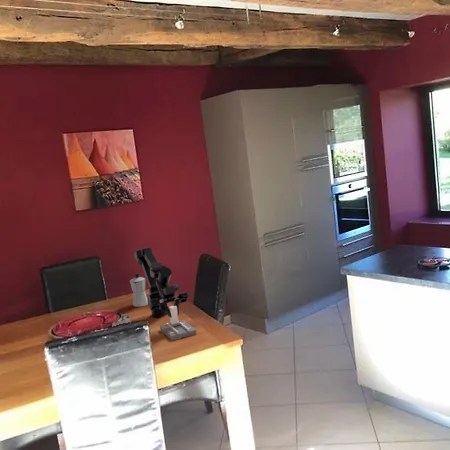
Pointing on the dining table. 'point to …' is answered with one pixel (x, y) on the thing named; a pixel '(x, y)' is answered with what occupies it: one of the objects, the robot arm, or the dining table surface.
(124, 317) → the food container
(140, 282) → the coffee maker
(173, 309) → the fader
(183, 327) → the grey slider track base
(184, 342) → the dining table surface
